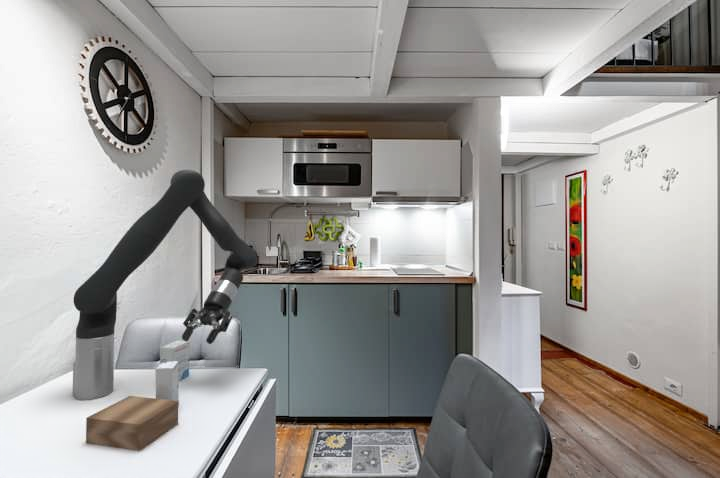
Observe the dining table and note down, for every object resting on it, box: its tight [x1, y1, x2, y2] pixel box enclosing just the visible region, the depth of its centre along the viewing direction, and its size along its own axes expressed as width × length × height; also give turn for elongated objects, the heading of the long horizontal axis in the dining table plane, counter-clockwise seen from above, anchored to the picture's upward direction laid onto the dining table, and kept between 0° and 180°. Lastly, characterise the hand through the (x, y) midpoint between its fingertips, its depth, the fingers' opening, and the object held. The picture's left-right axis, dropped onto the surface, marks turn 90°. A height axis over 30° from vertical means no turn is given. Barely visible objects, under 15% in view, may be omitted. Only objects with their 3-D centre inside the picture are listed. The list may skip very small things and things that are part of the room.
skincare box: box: [155, 361, 180, 406], centre depth 99 cm, size 6×4×12 cm
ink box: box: [159, 340, 191, 382], centre depth 120 cm, size 9×5×12 cm, turn 168°
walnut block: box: [85, 395, 179, 452], centre depth 87 cm, size 14×12×6 cm
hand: (196, 341), depth 109 cm, fingers open, 8 cm apart
